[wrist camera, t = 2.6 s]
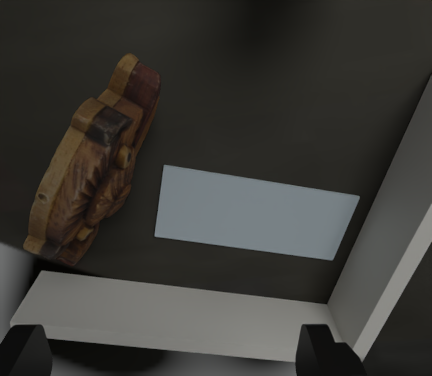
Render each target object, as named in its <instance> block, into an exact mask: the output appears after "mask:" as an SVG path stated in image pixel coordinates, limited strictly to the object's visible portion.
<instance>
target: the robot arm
mask: <svg viewBox="0 0 432 376" xmlns="http://www.w3.org/2000/svg"><path fill="white" fill-rule="evenodd" d="M295 365H296V373H297V376H367V373H366V371H365V369H364V366H363V364H362V362H361V360H360V357H359V356H358V355H357V354H356V353H355V352H354V351H353V350H352V348H351V347H350V346H349V345H348V344H347V343H346V342H335V340H334V338H333V335H332V333H331V330H330V328H329V326H328V325H327V324H302V326H301V330H300V335H299V340H298V346H297V351H296V357H295ZM51 370H52V355H51V351H50V348H49V344H48V341H47V337H46V334H45V330H44V327H43V326H42V325H41V324H21V325H14V326H12V327H11V329H10V330H9V331H8V333H7V334H6V336H5V338H4V339H3V341H2V342H1V344H0V376H50V374H51Z"/></svg>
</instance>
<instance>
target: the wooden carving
mask: <svg viewBox="0 0 432 376" xmlns="http://www.w3.org/2000/svg"><path fill="white" fill-rule="evenodd" d="M160 87H161V76H160V74H159V73H158V72H156V71H154V70H152V69H150V68H149V67H147V66H145V65H143V64H142V63H141V62H139V60H138V58H137V57H136V56H134V55H133V54H131V53H128V54H126V55H125V56H123V57H122V59H121V60H120V61H119V63H118V64H117V66H116V68H115V70H114V73H113V75H112V77H111V80H110V82H109V85H108V88H107V89H106V90H105V91H104V92H103V93H102V94H101V96H100V97H99V98H98V99H95V98H93V97H90V98H89V99H87V100H86V101H85V102H84V103H82V105H81V106H80V107H79V108H78V109H77V111H76V112H75V113H74V115H73V117H72V122H71V125H70V127H69V129H68V130H67V132H66V134H65V136H64V137H63V139H62V141H61V143H60V145H59V146H58V148H57V150H56V152H55V154H54V156H53V158H52V160H51V163H50V166H49V168H48V169H47V171H46V173H45V175H44V177H43V179H42V181H41V183H40V186H39V188H38V191H37V193H36V196H35V201H34V203H33V206H32V209H31V212H30V218H29V235H28V237H27V239H26V241H25V243H24V245H23V249H25V250H26V251H29V252H31V253H33V254H36V255H41V256H43V257H45V258H47V259H50V260H52V259H58V260H60V261H62V262H64V263H66V264H68V265H70V266H74V265H75V264H77V263H78V261H79V260H80V259H81V258H82V256H83V255H84V254H85V252H86V251H87V249H88V248H89V246H90V245H91V243H92V241H93V240H94V238H95V237H96V235H97V232H98V229H99V222H100V220H101V219H103V218H109V217H111V216H112V215H113V214H114V213H115V212H116V211H117V210H118V209H120V208H121V207H122V206H123V205H124V203H125V201H126V200H127V197H128V195H129V193H130V189H131V184H130V181H131V179H132V176H133V171H134V168H135V157H136V156H137V153H138V151H139V149H140V147H141V145H142V142H143V141H144V139H145V137H146V134H147V132H148V130H149V127H150V125H151V122H152V120H153V118H154V114H155V111H156V108H157V104H158V100H159V93H160Z"/></svg>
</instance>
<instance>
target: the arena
mask: <svg viewBox="0 0 432 376" xmlns="http://www.w3.org/2000/svg"><path fill="white" fill-rule="evenodd" d="M431 241H432V75H431V77H430V79H429V81H428V83H427V86H426V88H425V90H424V92H423V94H422V97H421V99H420V101H419V103H418V105H417V108H416V110H415V112H414V114H413V116H412V119H411V121H410V123H409V125H408V127H407V130H406V132H405V134H404V136H403V138H402V141H401V143H400V145H399V147H398V149H397V152H396V154H395V156H394V158H393V160H392V163H391V165H390V167H389V169H388V171H387V174H386V176H385V178H384V180H383V182H382V185H381V187H380V189H379V191H378V193H377V196H376V198H375V200H374V202H373V204H372V207H371V209H370V211H369V213H368V215H367V218H366V220H365V222H364V224H363V226H362V229H361V231H360V233H359V235H358V237H357V240H356V242H355V244H354V246H353V248H352V251H351V253H350V255H349V257H348V259H347V262H346V264H345V266H344V268H343V270H342V273H341V275H340V277H339V279H338V281H337V284H336V286H335V288H334V290H333V292H332V295H331V297H330V299H329V301H328V303H327V304H319V303H311V302H302V301H294V300H285V299H277V298H268V297H260V296H252V295H243V294H235V293H226V292H218V291H209V290H201V289H193V288H184V287H176V286H167V285H159V284H150V283H142V282H134V281H125V280H117V279H108V278H100V277H91V276H83V275H74V274H66V273H58V272H49V271H41V273H40V274H39V276H38V277H37V279H36V280H35V282H34V284H33V285H32V287H31V289H30V290H29V292H28V293H27V295H26V297H25V298H24V300H23V301H22V303H21V305H20V306H19V308H18V310H17V311H16V313H15V314H14V316H13V318H12V319H11V321H10V327H12V326H14V325H21V324H41V325H42V326H43V327H44V330H45V334H46V337H47V338H50V339H60V340H71V341H81V342H91V343H102V344H112V345H122V346H133V347H144V348H153V349H164V350H174V351H185V352H195V353H206V354H217V355H227V356H237V357H247V358H257V359H267V360H278V361H288V362H295V357H296V351H297V346H298V340H299V335H300V330H301V326H302V324H327V325H328V326H329V328H330V330H331V333H332V335H333V338H334V340H335V342H346V343H347V344H348V345H349V346H350V347H351V348H352V350H353V351H354V352H355V353H356V354H357V355H358V356H359V357H360V360H361V362H362V361H363V360H364V358H365V356H366V354H367V353H368V351H369V349H370V347H371V346H372V344H373V342H374V341H375V339H376V337H377V335H378V334H379V332H380V330H381V328H382V327H383V325H384V323H385V321H386V320H387V318H388V316H389V314H390V313H391V311H392V309H393V307H394V306H395V304H396V302H397V301H398V299H399V297H400V295H401V294H402V292H403V290H404V288H405V287H406V285H407V283H408V281H409V280H410V278H411V276H412V274H413V273H414V271H415V269H416V267H417V266H418V264H419V262H420V261H421V259H422V257H423V255H424V254H425V252H426V250H427V248H428V247H429V245H430V243H431Z"/></svg>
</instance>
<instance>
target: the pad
mask: <svg viewBox="0 0 432 376" xmlns="http://www.w3.org/2000/svg"><path fill="white" fill-rule="evenodd" d="M359 199H360V196H357V195H350V194H344V193H338V192H332V191H325V190H319V189H313V188H306V187H300V186H294V185H288V184H281V183H275V182H269V181H263V180H256V179H250V178H244V177H238V176H231V175H225V174H219V173H213V172H206V171H200V170H194V169H188V168H181V167H175V166H169V165H164V169H163V176H162V184H161V191H160V199H159V206H158V214H157V221H156V228H155V237H162V238H170V239H177V240H185V241H192V242H200V243H207V244H214V245H222V246H229V247H237V248H244V249H251V250H259V251H266V252H274V253H281V254H288V255H296V256H303V257H311V258H318V259H326V260H333V259H334V256H335V254H336V252H337V250H338V247H339V245H340V243H341V240H342V238H343V236H344V233H345V231H346V229H347V226H348V224H349V222H350V219H351V217H352V215H353V212H354V210H355V208H356V205H357V203H358V201H359Z"/></svg>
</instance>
